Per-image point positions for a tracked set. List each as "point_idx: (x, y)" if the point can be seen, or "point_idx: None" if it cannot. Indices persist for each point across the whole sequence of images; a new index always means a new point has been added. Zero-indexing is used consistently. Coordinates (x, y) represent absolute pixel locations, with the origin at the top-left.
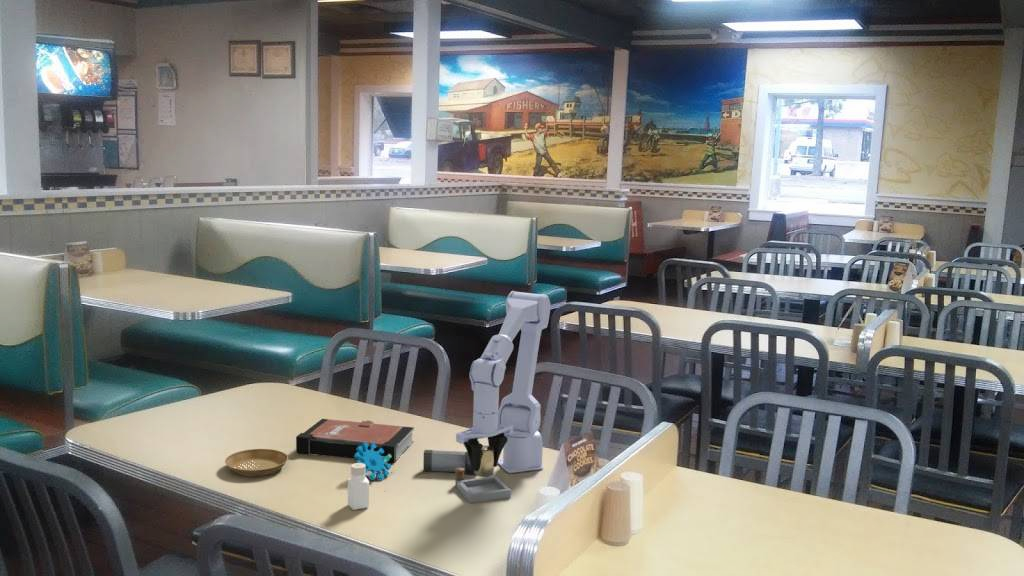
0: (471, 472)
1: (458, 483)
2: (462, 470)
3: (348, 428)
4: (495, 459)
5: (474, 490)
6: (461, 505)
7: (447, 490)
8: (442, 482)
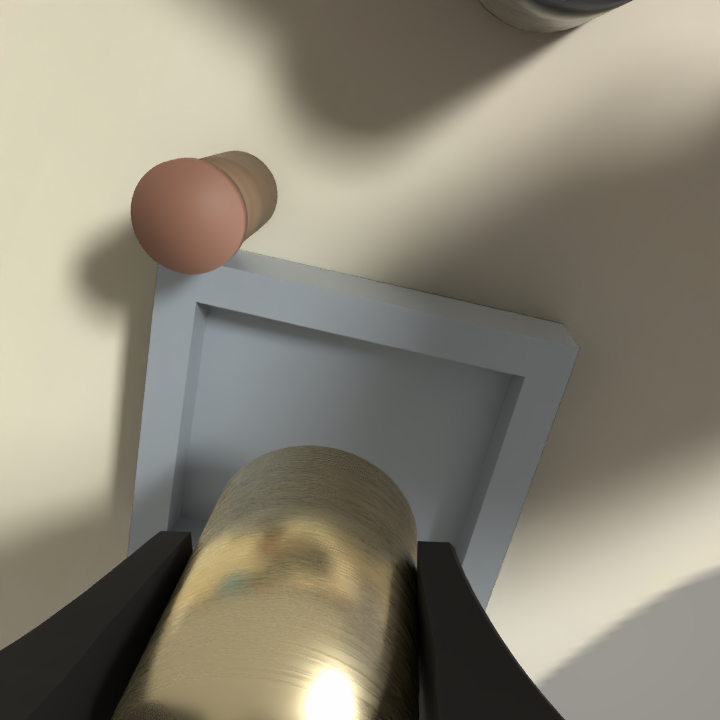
0: (490, 6)
1: (156, 296)
2: (196, 267)
3: None
4: (419, 717)
5: (267, 408)
6: (79, 520)
7: (90, 232)
8: (121, 28)
